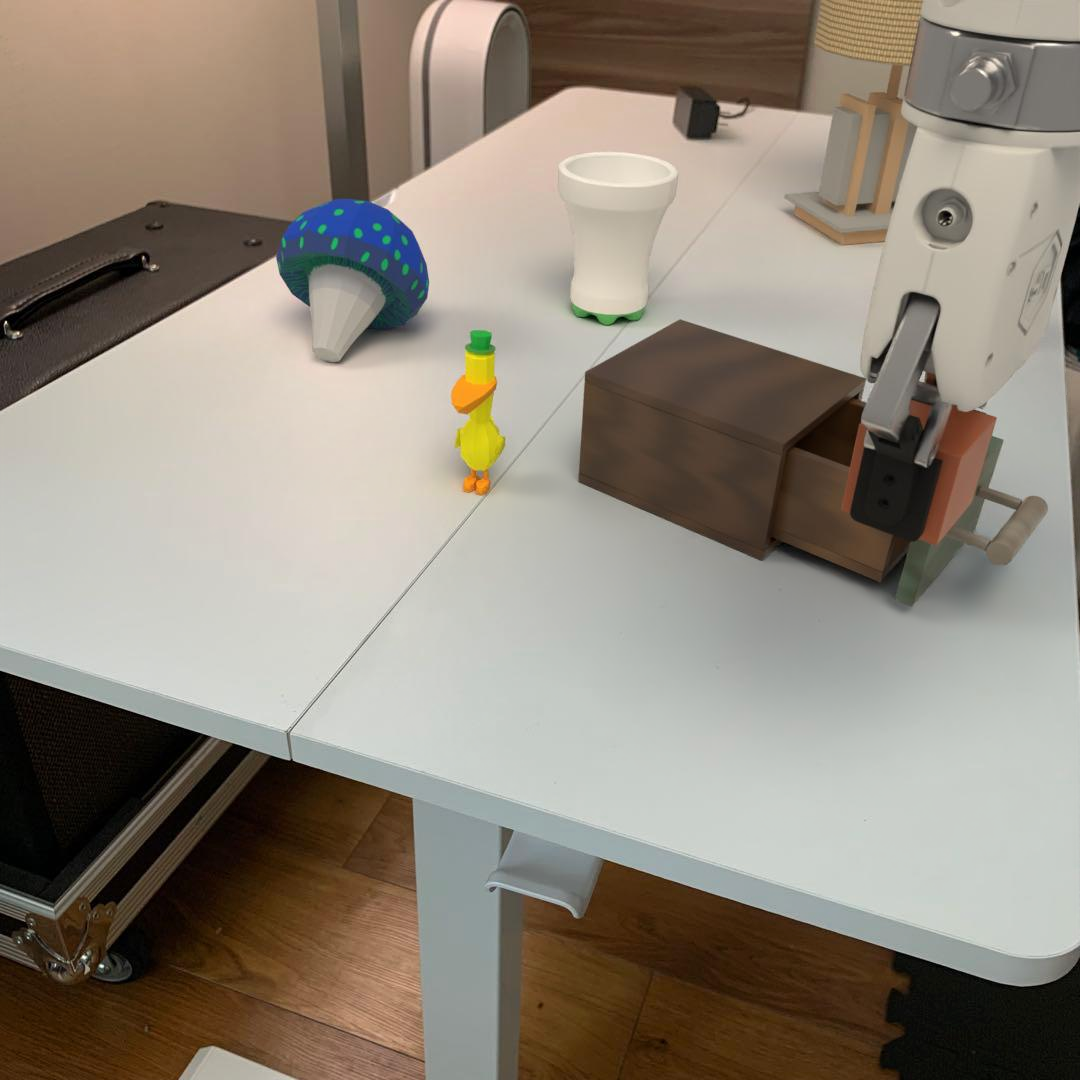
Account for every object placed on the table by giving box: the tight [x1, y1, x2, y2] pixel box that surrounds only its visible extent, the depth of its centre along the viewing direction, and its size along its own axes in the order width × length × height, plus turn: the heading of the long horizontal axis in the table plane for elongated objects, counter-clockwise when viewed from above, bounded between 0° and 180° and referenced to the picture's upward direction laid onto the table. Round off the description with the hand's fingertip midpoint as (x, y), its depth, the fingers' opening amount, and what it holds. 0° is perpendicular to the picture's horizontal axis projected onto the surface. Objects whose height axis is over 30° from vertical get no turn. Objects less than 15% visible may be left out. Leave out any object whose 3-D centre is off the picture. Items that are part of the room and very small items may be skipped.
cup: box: [557, 151, 679, 326], centre depth 103 cm, size 11×11×14 cm
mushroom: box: [275, 198, 430, 363], centre depth 97 cm, size 14×14×15 cm
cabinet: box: [577, 319, 867, 561], centre depth 78 cm, size 16×13×9 cm
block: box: [841, 400, 998, 545], centre depth 48 cm, size 4×4×4 cm
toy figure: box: [450, 329, 506, 496], centre depth 76 cm, size 7×4×12 cm, turn 162°
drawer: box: [771, 398, 1049, 607], centre depth 72 cm, size 19×11×7 cm, turn 52°
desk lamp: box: [783, 0, 923, 246], centre depth 122 cm, size 20×20×35 cm
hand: (908, 499), depth 49 cm, fingers closed on block, 4 cm apart
